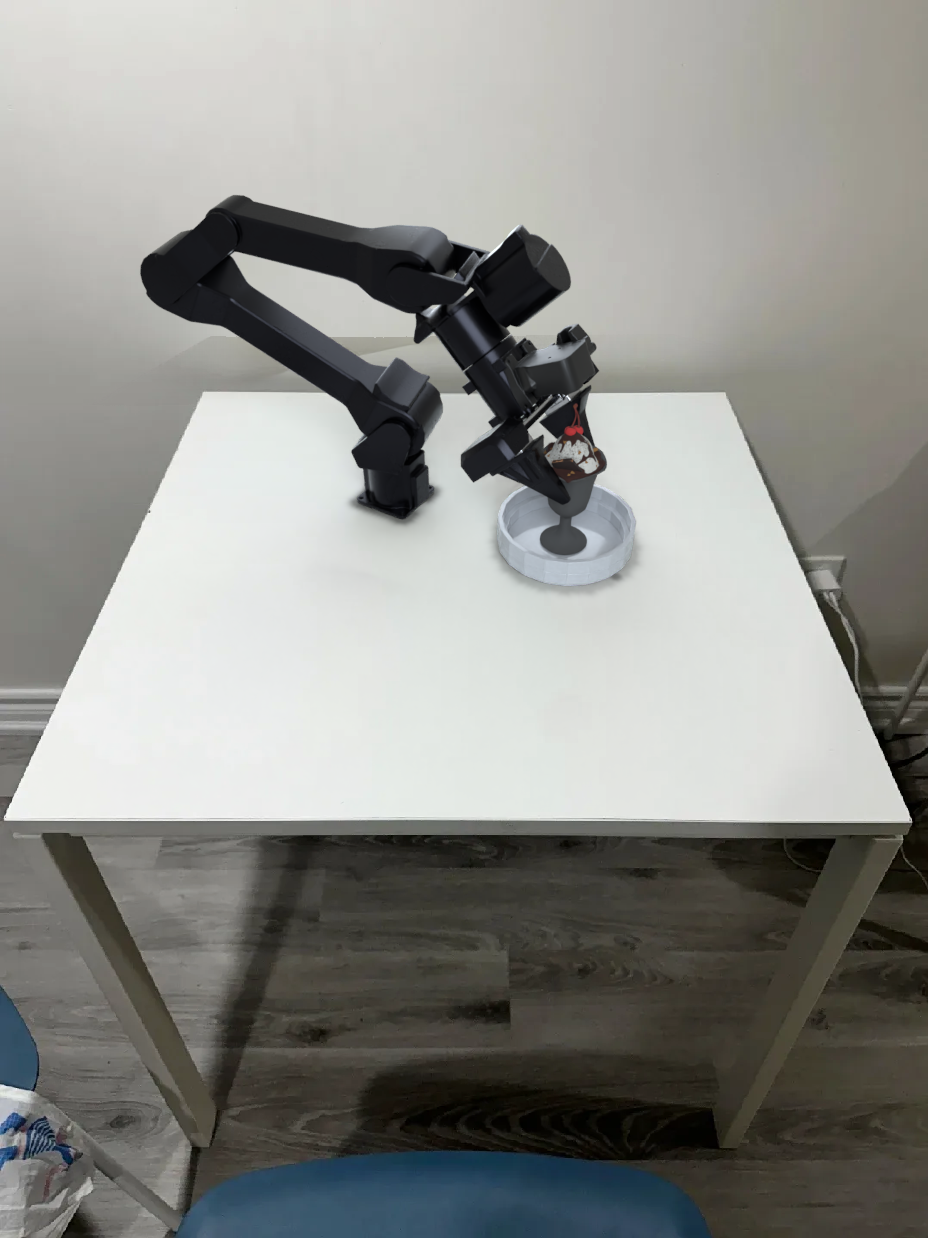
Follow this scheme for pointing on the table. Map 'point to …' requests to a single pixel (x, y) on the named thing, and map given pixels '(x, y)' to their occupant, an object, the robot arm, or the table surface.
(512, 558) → the pan
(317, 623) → the table surface
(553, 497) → the robot arm
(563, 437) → the sundae
